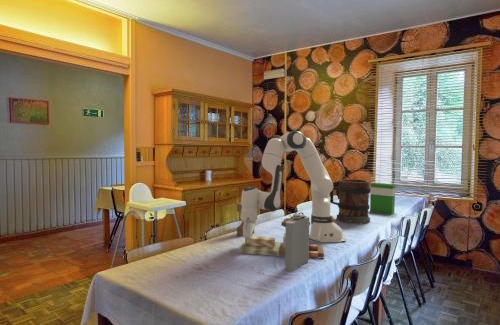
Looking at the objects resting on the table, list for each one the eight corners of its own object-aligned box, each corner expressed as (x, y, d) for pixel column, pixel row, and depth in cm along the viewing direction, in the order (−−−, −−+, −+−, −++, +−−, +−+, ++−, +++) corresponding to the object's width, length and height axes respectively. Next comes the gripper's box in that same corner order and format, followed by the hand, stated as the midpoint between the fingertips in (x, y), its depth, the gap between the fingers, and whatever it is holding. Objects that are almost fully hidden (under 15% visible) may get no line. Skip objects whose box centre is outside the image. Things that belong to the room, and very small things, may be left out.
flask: (301, 259, 166) (302, 210, 165) (309, 261, 163) (310, 211, 162) (282, 269, 153) (282, 216, 151) (290, 272, 150) (291, 218, 148)
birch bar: (274, 245, 181) (275, 237, 180) (274, 247, 176) (274, 240, 176) (246, 242, 183) (246, 235, 183) (244, 245, 179) (245, 237, 179)
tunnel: (298, 245, 181) (298, 233, 180) (298, 250, 172) (298, 238, 172) (284, 244, 182) (284, 232, 181) (283, 249, 174) (283, 237, 173)
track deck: (322, 249, 181) (322, 244, 181) (324, 258, 168) (324, 253, 168) (244, 244, 189) (244, 240, 188) (239, 253, 175) (239, 248, 175)
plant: (308, 221, 246) (309, 206, 245) (311, 228, 227) (311, 212, 226) (281, 220, 248) (282, 205, 247) (282, 227, 228) (282, 211, 228)
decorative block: (242, 236, 205) (242, 204, 203) (236, 234, 209) (236, 203, 208) (254, 233, 212) (255, 202, 211) (248, 231, 217) (249, 201, 215)
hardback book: (370, 211, 280) (370, 183, 278) (372, 210, 285) (373, 182, 284) (391, 214, 269) (392, 185, 267) (394, 212, 275) (395, 184, 273)
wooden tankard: (365, 225, 233) (366, 183, 231) (325, 220, 249) (325, 180, 247) (372, 219, 252) (374, 180, 250) (335, 214, 268) (336, 177, 266)
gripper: (252, 221, 169) (251, 247, 170) (257, 212, 189) (257, 236, 190) (240, 220, 170) (239, 246, 171) (246, 212, 190) (246, 235, 191)
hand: (249, 241), depth 181 cm, fingers closed on birch bar, 4 cm apart
